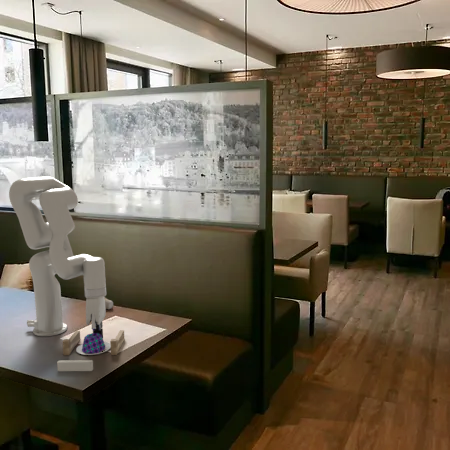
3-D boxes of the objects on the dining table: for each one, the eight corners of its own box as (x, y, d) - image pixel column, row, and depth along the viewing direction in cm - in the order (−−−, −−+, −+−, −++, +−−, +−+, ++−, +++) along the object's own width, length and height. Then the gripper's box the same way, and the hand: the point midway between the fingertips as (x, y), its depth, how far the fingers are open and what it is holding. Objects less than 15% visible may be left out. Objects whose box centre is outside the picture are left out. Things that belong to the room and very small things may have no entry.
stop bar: (57, 371, 155) (57, 362, 154) (59, 369, 156) (58, 360, 156) (91, 371, 155) (91, 362, 154) (93, 368, 156) (92, 360, 156)
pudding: (94, 340, 180) (93, 327, 179) (118, 347, 174) (117, 333, 173) (68, 352, 170) (68, 338, 169) (92, 359, 164) (92, 345, 163)
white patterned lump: (111, 312, 210) (98, 294, 208) (95, 319, 214) (82, 301, 211) (118, 302, 217) (106, 285, 214) (102, 309, 220) (90, 292, 218)
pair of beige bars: (63, 355, 167) (62, 341, 166) (75, 339, 180) (74, 326, 179) (116, 354, 166) (116, 341, 166) (125, 339, 180) (124, 326, 179)
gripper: (90, 285, 181) (93, 332, 184) (78, 298, 166) (82, 348, 169) (110, 285, 181) (113, 331, 184) (100, 297, 166) (103, 348, 169)
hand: (98, 339), depth 177 cm, fingers closed
